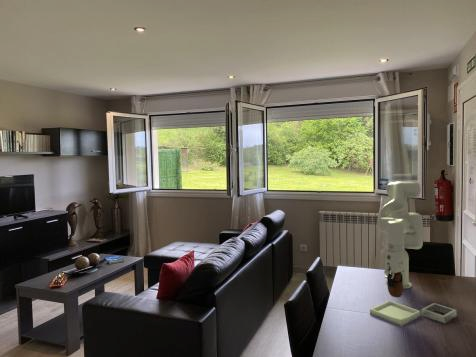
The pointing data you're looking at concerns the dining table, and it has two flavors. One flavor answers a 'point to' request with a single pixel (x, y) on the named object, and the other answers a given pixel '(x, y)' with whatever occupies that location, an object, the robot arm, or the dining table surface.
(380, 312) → the sage tray
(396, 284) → the brown lumpy elongated piece
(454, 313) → the white square bin
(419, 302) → the dining table surface
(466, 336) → the dining table surface
